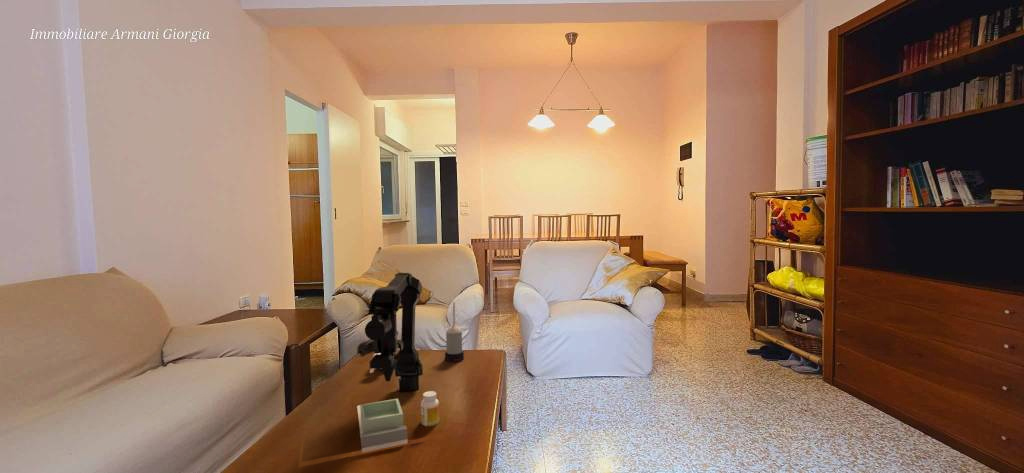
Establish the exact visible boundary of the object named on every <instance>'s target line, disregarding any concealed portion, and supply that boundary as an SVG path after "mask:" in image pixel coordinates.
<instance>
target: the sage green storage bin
mask: <svg viewBox="0 0 1024 473" xmlns="http://www.w3.org/2000/svg"><path fill="white" fill-rule="evenodd" d="M359 405H360V410H361V424H362V432H363V433H368V432H374V431H379V430H384V429H390V428H395V427H400V426H404V413H403V410H402V407H401V403H400V400H399V398H393V399H387V400H382V401H381V400H379V401H374V402H368V403H363V404H362V403H361V404H359Z"/></svg>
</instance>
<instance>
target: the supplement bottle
mask: <svg viewBox="0 0 1024 473" xmlns="http://www.w3.org/2000/svg"><path fill="white" fill-rule="evenodd" d="M420 423H421V425H422V426H424V427H433V426H437V425H438V424H439V423H440V402H439V399H437V392H436V391H434V390H428V391H426V392H423V394H422V400H421V402H420Z"/></svg>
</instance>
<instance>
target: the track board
mask: <svg viewBox="0 0 1024 473" xmlns="http://www.w3.org/2000/svg"><path fill="white" fill-rule="evenodd" d="M360 405H361V404H359V405H357V406H356V410H357V415H358V416H357V417H358V427H359V436H360V444H361V453H362V454H363V453H368V452H372V451H377V450H381V449H387V448H391V447H396V446H402V445H406V444H408V428H407V425H403V426H400V427H395V428H390V429H384V430H379V431H374V432H368V433H363V432H362V424H361V410H360Z"/></svg>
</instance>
